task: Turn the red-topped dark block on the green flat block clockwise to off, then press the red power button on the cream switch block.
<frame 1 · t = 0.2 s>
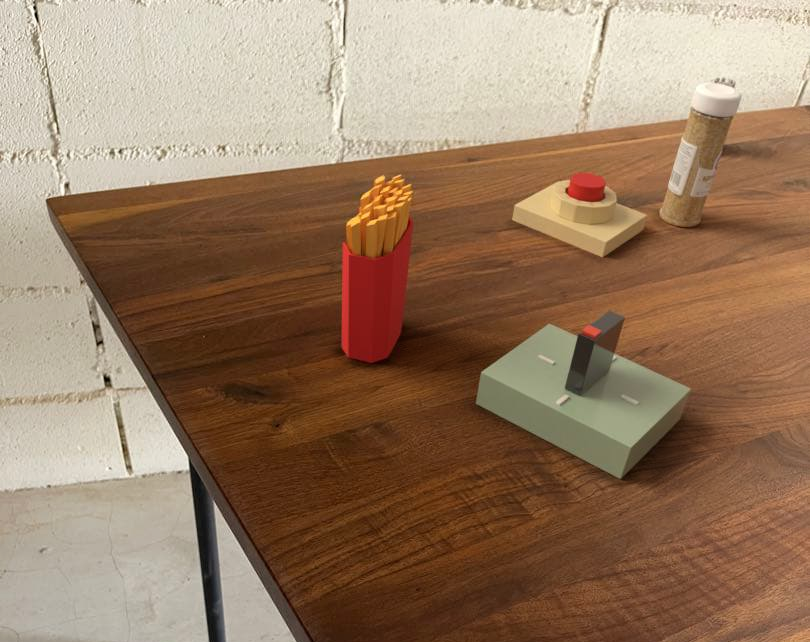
red-topped dark block: (594, 351, 66), point 6 cm above the table, hinge at 90.0°
switch block: (577, 225, 94), on the table
spice jar: (677, 221, 97), on the table
rook chess piece: (703, 149, 113), on the table
power button: (586, 188, 91), point 4 cm above the table, slide at 0.1 cm
french fries: (371, 343, 75), on the table
green flat block: (578, 411, 70), on the table
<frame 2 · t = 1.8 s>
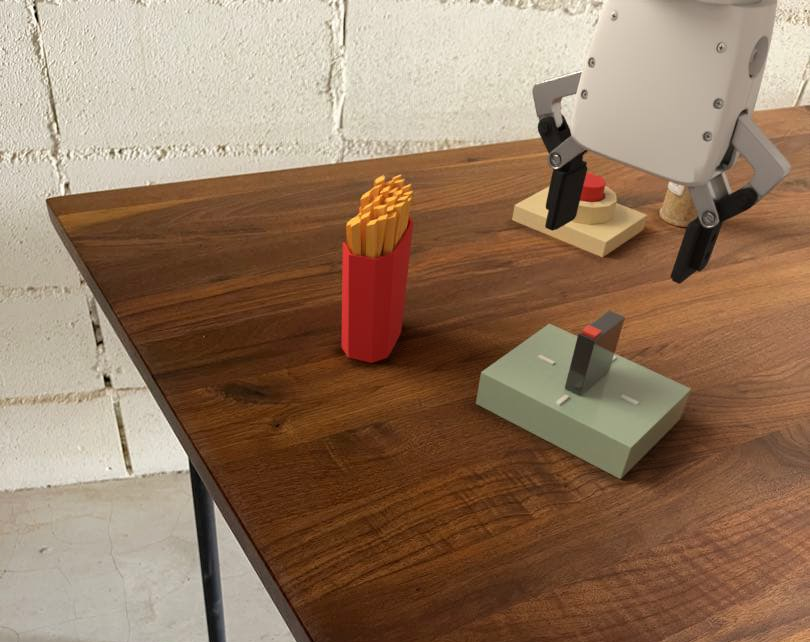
hand: (620, 249, 60), 14 cm above the table, tool pointing down, fingers open, 9 cm apart
nothing on the table moved.
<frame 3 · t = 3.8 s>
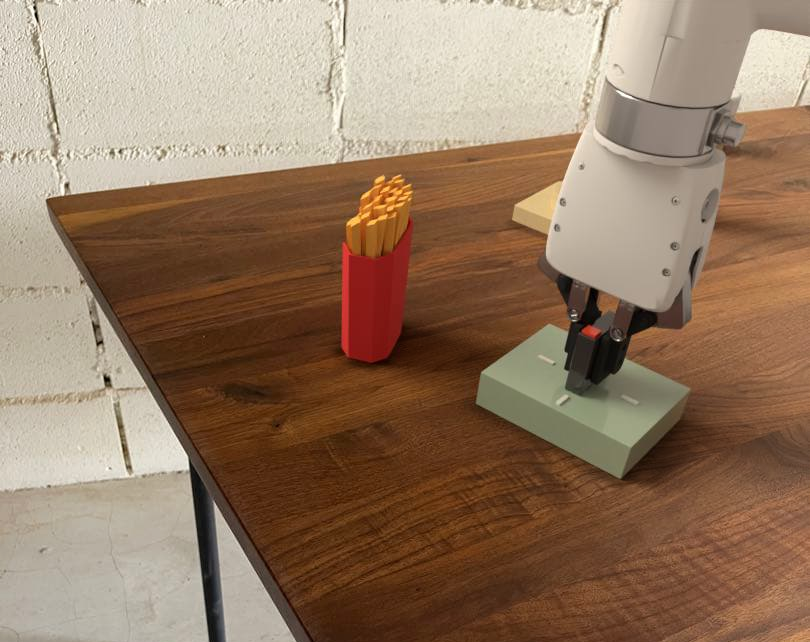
hand: (590, 369, 67), 4 cm above the table, tool pointing down, fingers closed
red-topped dark block: (594, 351, 66), point 6 cm above the table, hinge at 90.0°, touching gripper
everything else where it was.
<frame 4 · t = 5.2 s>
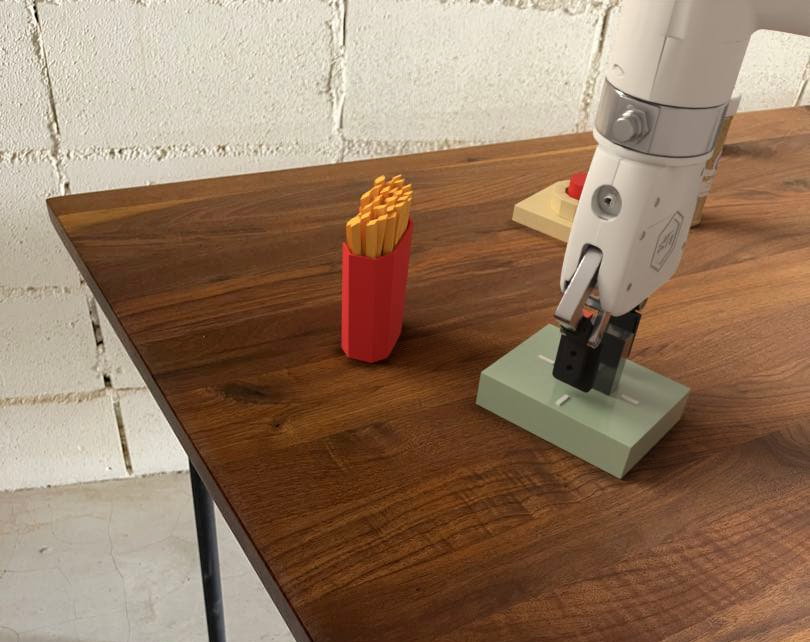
hand: (590, 365, 67), 4 cm above the table, tool pointing down, fingers open, 4 cm apart
red-topped dark block: (594, 351, 66), point 6 cm above the table, hinge at 0.5°
everything else where it was.
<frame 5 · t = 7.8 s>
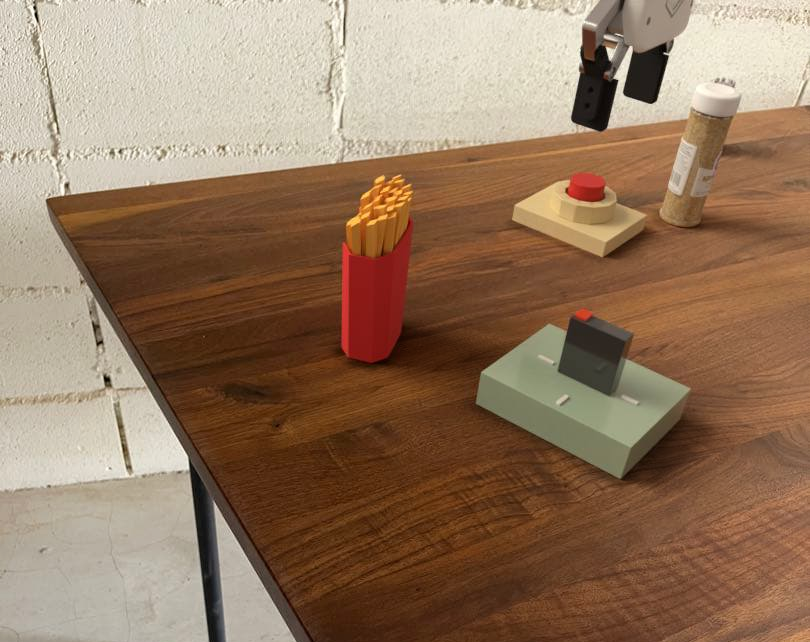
hand: (614, 112, 77), 15 cm above the table, tool pointing down, fingers open, 9 cm apart
nothing on the table moved.
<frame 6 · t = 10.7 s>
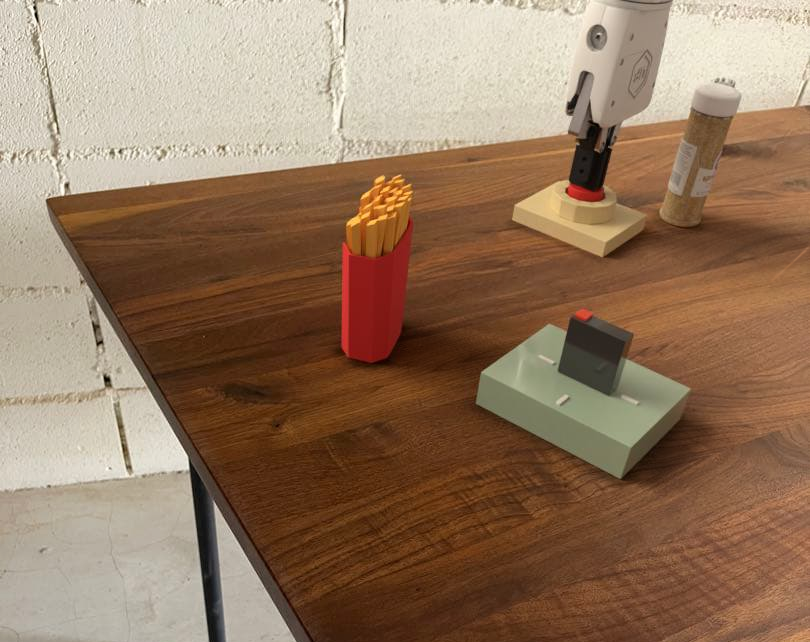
hand: (585, 184, 91), 4 cm above the table, tool pointing down, fingers closed
power button: (585, 194, 91), point 3 cm above the table, slide at -0.5 cm, touching gripper
everything else where it was.
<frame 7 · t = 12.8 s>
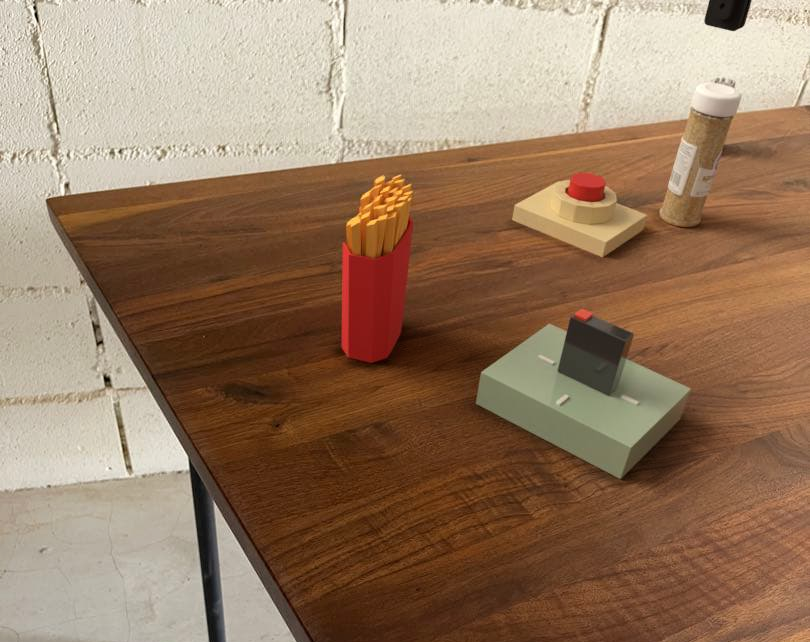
hand: (723, 25, 79), 20 cm above the table, tool pointing down, fingers closed
power button: (586, 188, 91), point 4 cm above the table, slide at 0.1 cm
everything else where it was.
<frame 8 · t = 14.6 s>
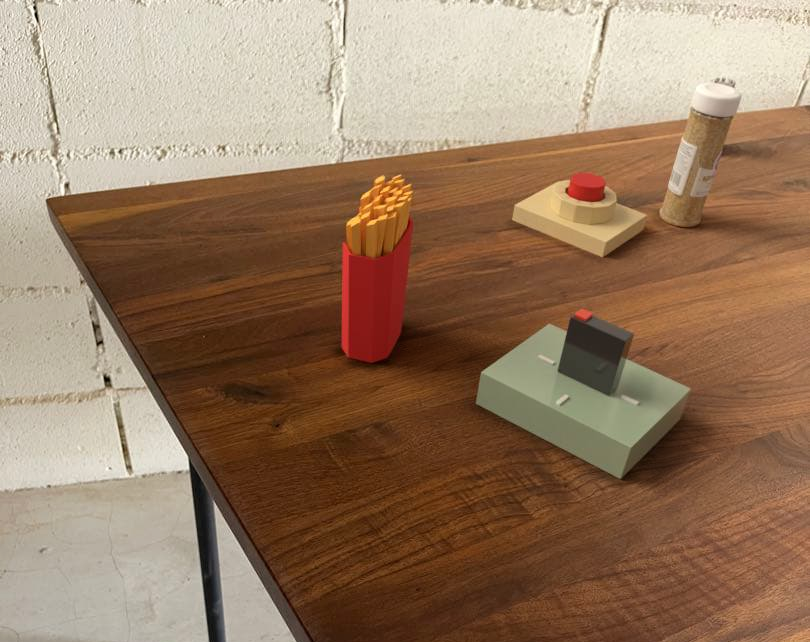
nothing on the table moved.
at the end: red-topped dark block at +0° (first picture: +90°); power button pushed in 1.1 cm at the most during the clip, back to where it started at the end; power button slide at 0.1 cm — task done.
